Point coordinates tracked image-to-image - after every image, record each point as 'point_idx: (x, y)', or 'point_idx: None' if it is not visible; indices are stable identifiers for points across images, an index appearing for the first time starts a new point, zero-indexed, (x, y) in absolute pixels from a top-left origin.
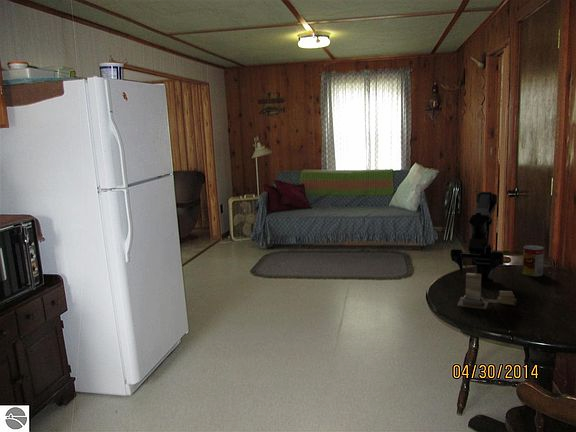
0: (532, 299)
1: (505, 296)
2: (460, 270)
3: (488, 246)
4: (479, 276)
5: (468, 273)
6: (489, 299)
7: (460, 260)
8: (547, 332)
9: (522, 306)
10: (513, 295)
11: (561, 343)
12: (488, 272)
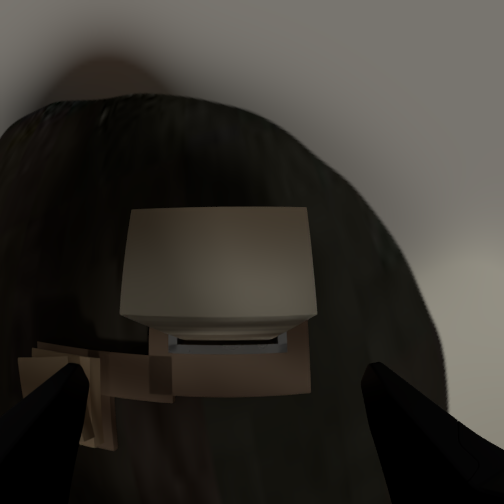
0: None
1: (52, 357)
2: (408, 385)
3: None
4: (142, 209)
5: (290, 283)
6: (146, 398)
7: (493, 478)
8: (17, 154)
9: None
10: (20, 365)
11: (20, 118)
12: (48, 390)
